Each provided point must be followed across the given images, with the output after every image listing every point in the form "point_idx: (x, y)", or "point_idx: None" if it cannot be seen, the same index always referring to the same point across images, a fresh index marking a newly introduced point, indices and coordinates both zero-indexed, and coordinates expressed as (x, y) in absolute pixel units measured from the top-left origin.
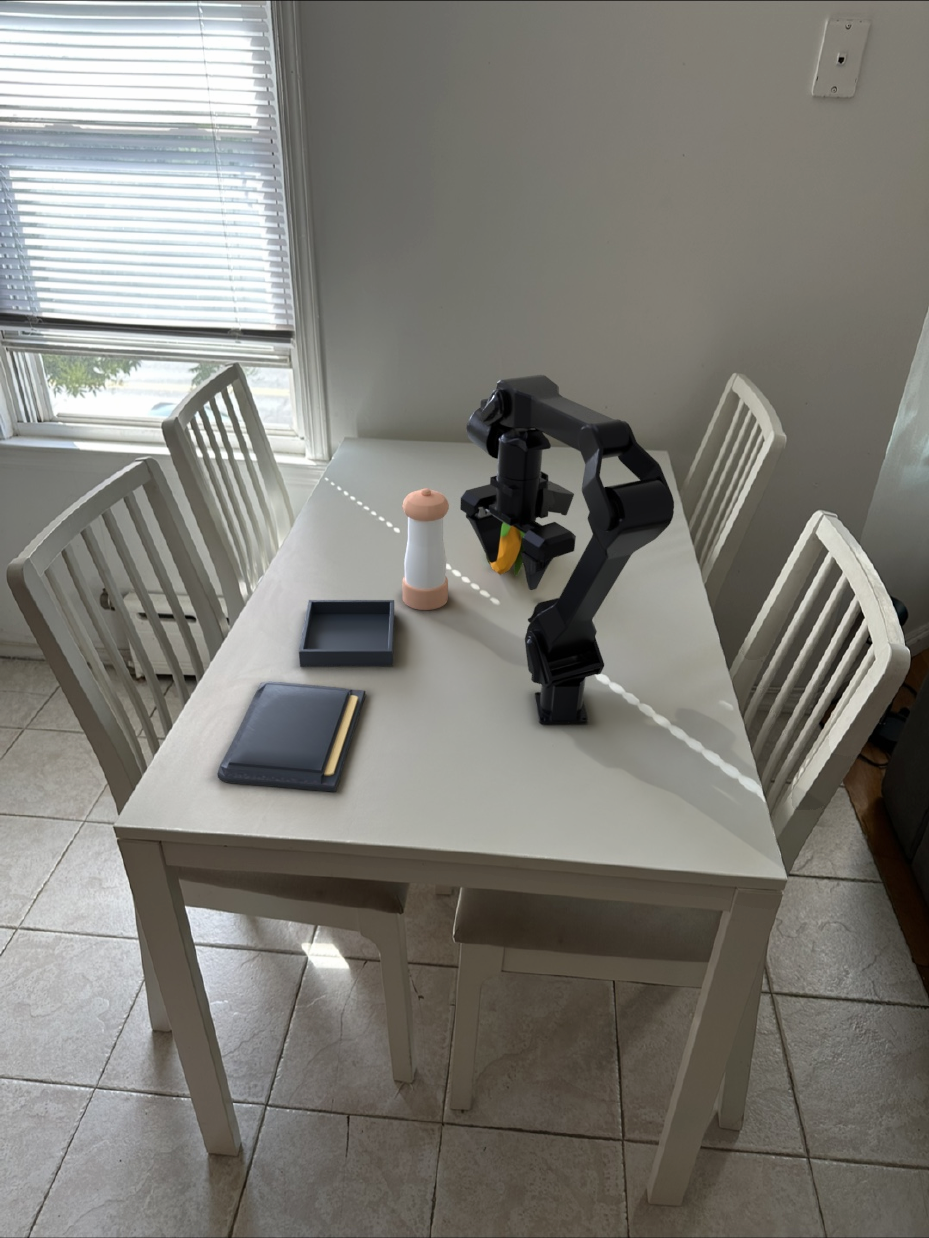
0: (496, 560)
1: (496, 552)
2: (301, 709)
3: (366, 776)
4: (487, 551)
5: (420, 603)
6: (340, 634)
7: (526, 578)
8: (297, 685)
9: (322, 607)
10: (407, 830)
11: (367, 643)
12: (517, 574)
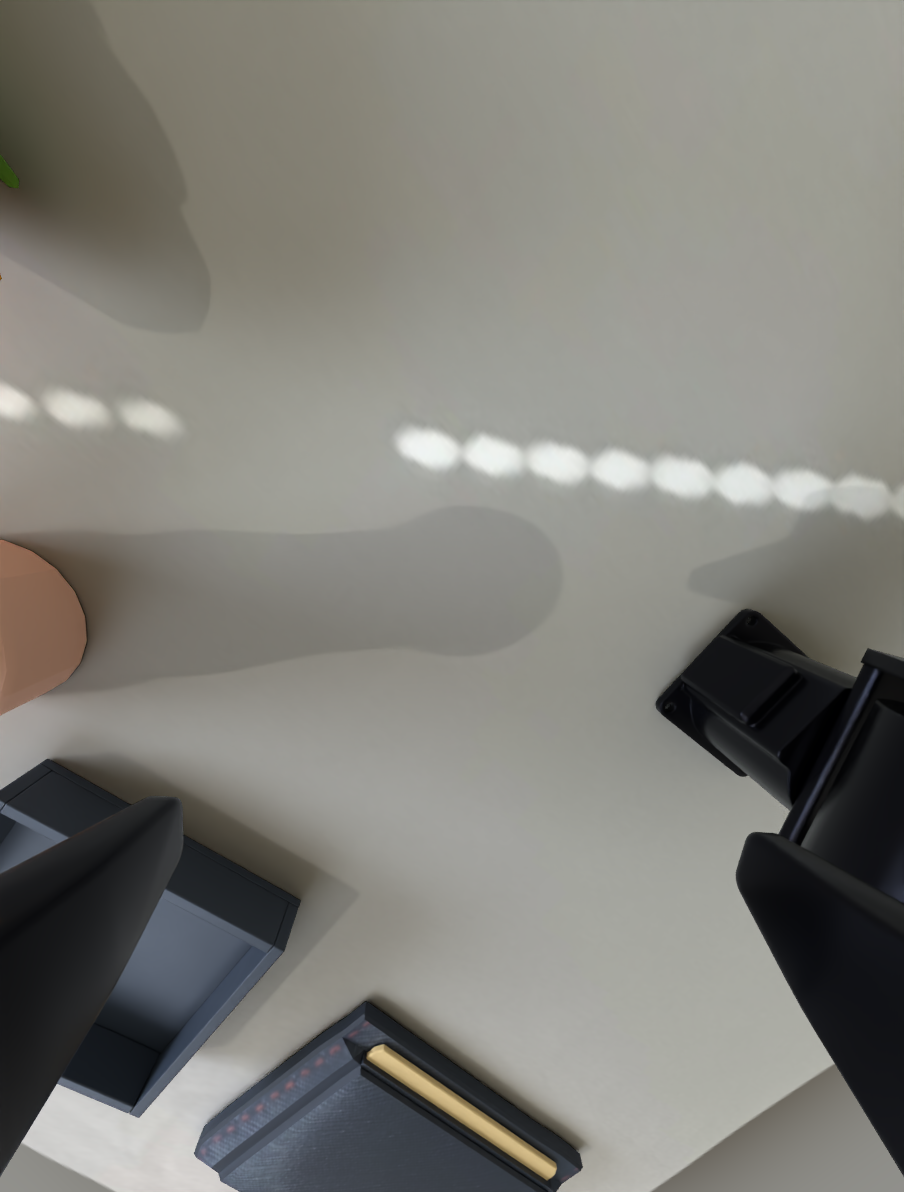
0: (177, 806)
1: (105, 892)
2: (358, 1167)
3: (584, 1100)
4: (66, 1058)
5: (42, 691)
6: None
7: (856, 1085)
8: (261, 1128)
9: None
10: (735, 1107)
11: (169, 908)
12: (16, 178)
